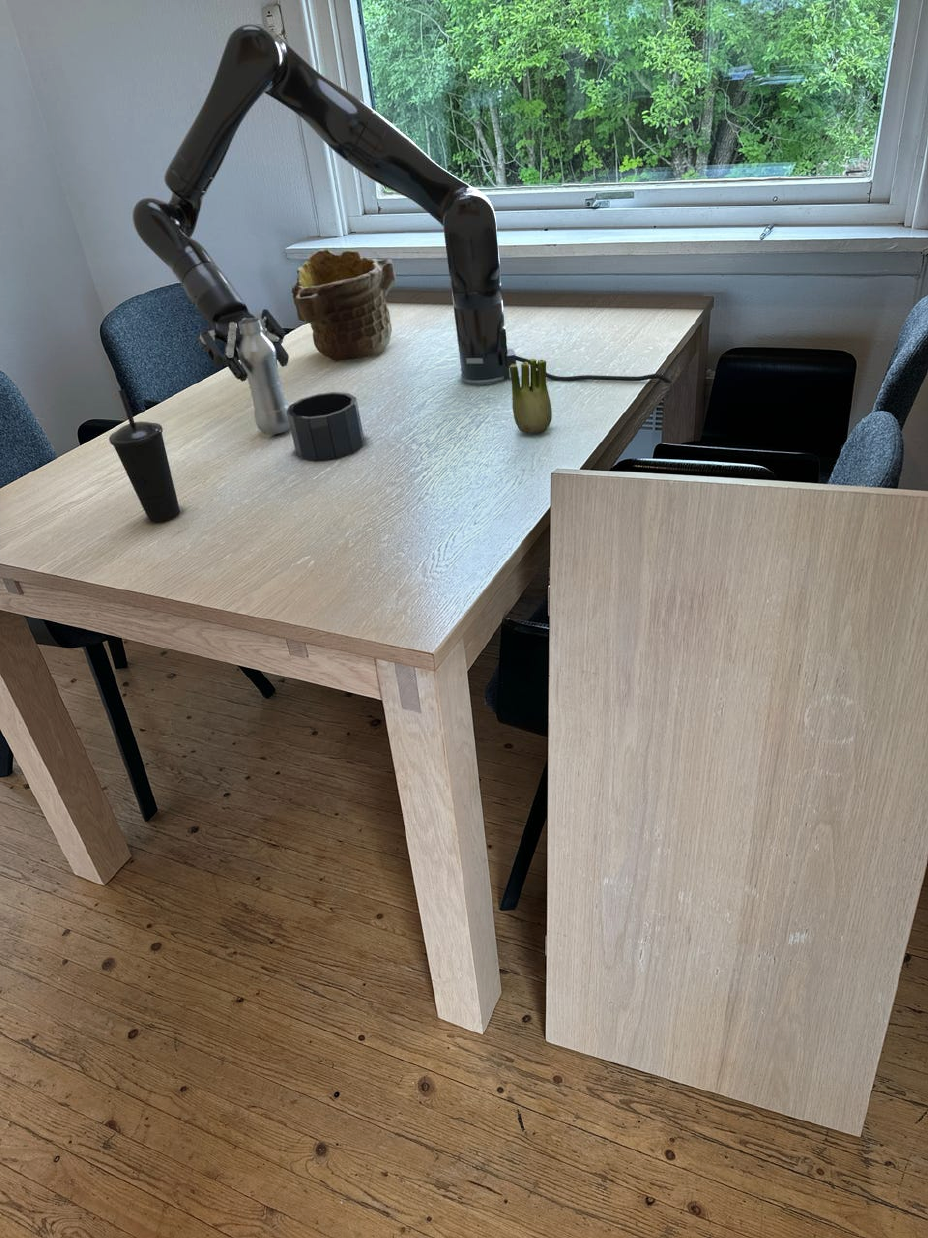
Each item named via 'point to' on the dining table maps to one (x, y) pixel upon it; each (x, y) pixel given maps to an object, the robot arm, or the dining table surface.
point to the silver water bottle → (263, 378)
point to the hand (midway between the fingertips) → (265, 370)
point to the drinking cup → (147, 466)
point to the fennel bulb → (531, 397)
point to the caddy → (325, 426)
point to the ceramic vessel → (345, 303)
